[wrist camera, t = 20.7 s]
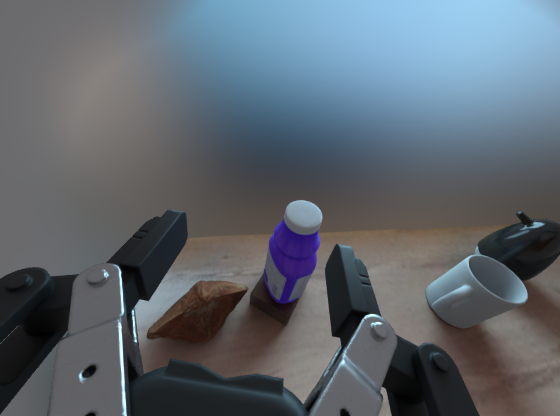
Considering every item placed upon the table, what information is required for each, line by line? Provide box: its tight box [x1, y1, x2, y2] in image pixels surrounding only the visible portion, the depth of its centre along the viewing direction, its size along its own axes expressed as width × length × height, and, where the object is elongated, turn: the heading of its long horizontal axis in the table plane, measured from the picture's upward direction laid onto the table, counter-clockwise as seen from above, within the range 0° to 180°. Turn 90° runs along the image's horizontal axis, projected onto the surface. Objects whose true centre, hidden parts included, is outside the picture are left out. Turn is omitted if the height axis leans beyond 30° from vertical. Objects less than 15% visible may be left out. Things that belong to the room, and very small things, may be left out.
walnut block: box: [250, 274, 300, 326], centre depth 36 cm, size 7×8×4 cm
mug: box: [426, 255, 528, 328], centre depth 36 cm, size 12×8×11 cm
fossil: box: [147, 281, 248, 344], centre depth 31 cm, size 13×8×10 cm
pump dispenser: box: [475, 211, 560, 281], centre depth 44 cm, size 10×10×15 cm
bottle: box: [264, 200, 322, 303], centre depth 29 cm, size 7×6×17 cm
